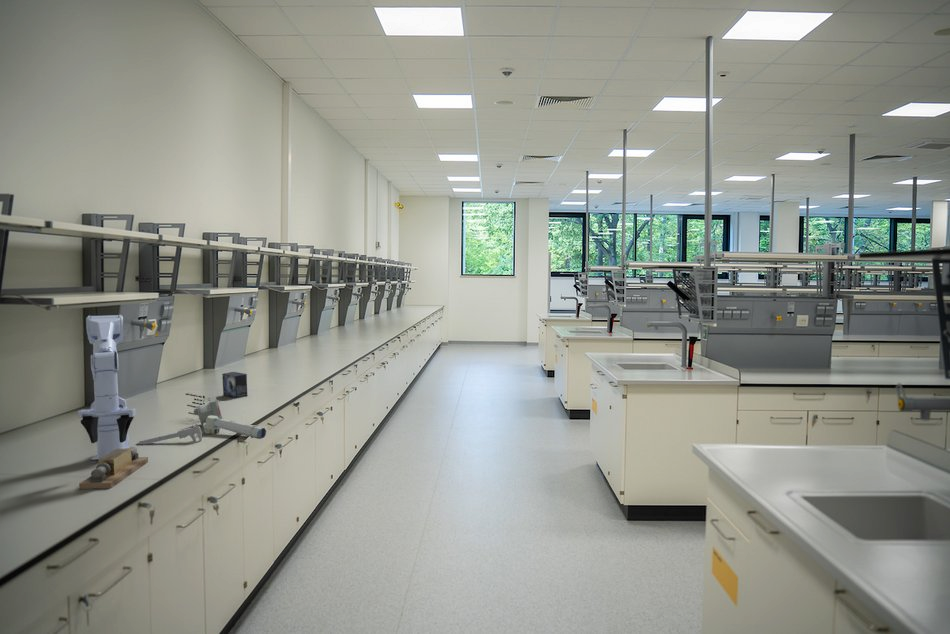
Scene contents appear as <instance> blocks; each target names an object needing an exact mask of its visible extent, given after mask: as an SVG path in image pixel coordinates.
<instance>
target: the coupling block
mask: <svg viewBox="0 0 950 634" xmlns="http://www.w3.org/2000/svg"><path fill="white" fill-rule="evenodd" d="M129 448H130V447H129ZM100 463H107V464H108V465H109V466H110V469H111V470H110V473H109V474H108V475H115V474H117V473H118V472H120V471H121V470H123V469H124V468H126V467H127V466H129V465H130V464H132V459H131V448H130V449H116V450H114V451H112V452H110V453H109V454H107V455H105V456H104V457H102V458H100V459H99V460H98V465H99V464H100Z"/></svg>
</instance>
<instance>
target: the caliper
mask: <svg viewBox="0 0 950 634" xmlns="http://www.w3.org/2000/svg"><path fill="white" fill-rule="evenodd" d="M191 426H192V427H189V428H185V429H181V430H178V431H177V432H172V433H168V434H164V435H159V436H154V437H150V438H145V439H142V440H139V442H136V443H135V445H136V444H138V445H140V444H143V445H149V444H153V443H157V442H161V441H166V440H170V439H171V440H172V439H176V438H179V439H183V438H184V439H186V438H187V437H188V436H189V437H190V438H191V439H192V441H193V442H194V441H196V442H197V437H198V440H199V442H201V441H202V440H203V439H202V438H203V437H202V436H203V435H202V434H203V431H202V428H201V427H200V426H199V425H198V423H195V425H194V423H193V424H192V425H191ZM195 434H197V437H196V435H195Z"/></svg>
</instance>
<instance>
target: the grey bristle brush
mask: <svg viewBox="0 0 950 634" xmlns="http://www.w3.org/2000/svg"><path fill="white" fill-rule="evenodd" d="M185 396H190V397H197V398H193V400H194V401H192V403H191V404H195V405H191V404H186V406H188V407H190V408H194V409H193V412H190V411H189V412H188V414H191V415H194V416H198V419H199V421H200V424H201V426H202V427H203V424H204V423H206V419H207V417H208V416H211V415H213V416H217V417H218V418H219V419H223V416H222V413H221V409H220V406H219V403H218V399H217V396H210V399H207V403H205V400H203V399H205V398H206V396H205V395H202V396H201V395H197V394H192V393H189V392H188V393H185ZM199 398H202V399H199ZM196 401H197V402H196ZM198 401H199V402H198ZM201 402H203V403H201ZM196 405H198V406H196Z"/></svg>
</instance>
